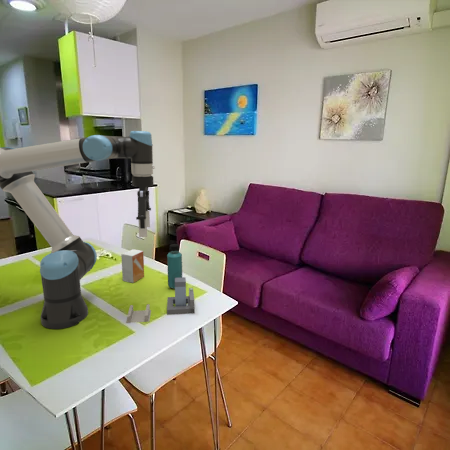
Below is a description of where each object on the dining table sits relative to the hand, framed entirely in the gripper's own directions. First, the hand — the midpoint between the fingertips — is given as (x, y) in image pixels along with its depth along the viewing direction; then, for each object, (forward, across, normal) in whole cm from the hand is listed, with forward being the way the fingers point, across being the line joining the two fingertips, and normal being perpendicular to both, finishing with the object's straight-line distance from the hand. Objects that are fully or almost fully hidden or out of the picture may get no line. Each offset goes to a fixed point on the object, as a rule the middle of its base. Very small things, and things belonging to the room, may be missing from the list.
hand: (144, 231), depth 122 cm
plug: (+29, -8, -13) cm, 33 cm away
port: (+29, -8, -13) cm, 33 cm away
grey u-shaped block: (+29, -13, +2) cm, 32 cm away
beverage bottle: (+29, +10, -11) cm, 32 cm away
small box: (+29, +22, +8) cm, 37 cm away
